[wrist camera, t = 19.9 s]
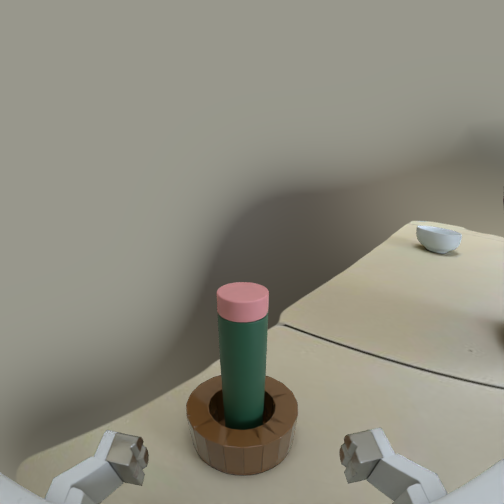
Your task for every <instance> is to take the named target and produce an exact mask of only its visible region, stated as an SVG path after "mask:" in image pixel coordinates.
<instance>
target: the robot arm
mask: <svg viewBox="0 0 504 504" xmlns="http://www.w3.org/2000/svg"><path fill="white" fill-rule="evenodd" d="M344 442H345V443H344V444H343V445H341V448H340V460H341V464H342V465H344V466H345V467H346V469H345V471H344V473H345V476H346V479H347V482H348V484H349V483H353V482H358V481H362V480H366V479H367V481H368V482H369V483H371V484H372V485H373V486H374V487H376V488H377V489H378V490H380V491H381V492H382V493H384V494H385V495H386V496H388V497H389V498H390V499H392V500H393V501H394V502H393V503H392V504H504V459H502V460H500V461H498V462H497V463H495V464H494V465H493V466H491V467H490V468H489V469H487V470H486V471H484V472H483V473H481V474H480V475H478V476H477V477H475V478H474V479H472V480H471V481H469V482H468V483H466V484H464V485H463V486H461V487H459V488H458V489H456V490H454V491H452V492H451V493H449V494H447V492H446V490H445V488H444V486H443V484H442V482H441V481H440V479H439V477H438V475H437V474H436V473H434V472H432V471H430V470H428V469H426V468H424V467H422V466H420V465H418V464H417V463H415V462H413V461H411V460H409V459H407V458H405V457H404V456H402V455H400V454H395V453H394V451H393V449H392V447H391V445H390V443H389V441H388V439H387V437H386V435H385V433H384V431H383V430H382V429H381V428H375V429H371V430H366V431H362V432H358V433H353V434H348V435H346V436H345V438H344ZM148 456H149V455H148V450H147V448H146V447H145V446H144V445H143V440H142V438H141V437H138V436H133V435H128V434H123V433H119V432H114V431H110V430H107V431H106V432H105V433H104V435H103V437H102V439H101V441H100V444H99V446H98V448H97V451H96V453H95V455H94V457H89V458H87V459H86V460H84V461H82V462H81V463H79V464H77V465H76V466H74V467H72V468H71V469H69V470H67V471H65V472H64V473H62V474H60V475H58V476H56V477H55V478H54V479H53V481H52V483H51V485H50V488H49V490H48V492H47V494H46V496H45V499H44V498H42V497H40V496H38V495H36V494H34V493H33V492H31V491H29V490H27V489H26V488H24V487H22V486H21V485H19V484H18V483H16V482H14V481H13V480H11V479H10V478H8V477H7V476H5V475H4V474H2V473H1V472H0V504H99V503H101V502H102V501H103V500H104V499H105V498H107V497H108V496H109V495H110V494H111V493H113V492H114V491H115V490H116V489H117V488H118V487H120V486H121V485H122V484H123V482H125V483H130V484H135V485H140V486H142V484H143V480H144V476H145V473H144V472H143V469H144V468H145V467H147V464H148Z"/></svg>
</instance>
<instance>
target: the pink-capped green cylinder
mask: <svg viewBox="0 0 504 504" xmlns="http://www.w3.org/2000/svg"><path fill="white" fill-rule="evenodd" d="M268 300H269V292H268V290H267V288H265V287H264V286H262V285H259V284H255V283H249V282H237V283H230V284H226V285H224V286H222V287H220V288H219V289H218V291H217V310H218V331H219V348H220V364H221V379H222V392H223V405H224V416H225V427H228V428H230V429H238V430H247V429H254V428H256V427H259V426H261V425H263V412H264V393H265V373H266V352H267V327H268Z"/></svg>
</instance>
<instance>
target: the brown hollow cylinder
mask: <svg viewBox="0 0 504 504" xmlns="http://www.w3.org/2000/svg"><path fill="white" fill-rule="evenodd" d="M186 411H187V419H188V424H189V428H190V432H191V436H192V440H193V444H194V446H195V449H196V451H197V453H198V454H199V456H200V457H201V458H202V459H203V461H205V462H206V463H207V464H208V465H210V466H211V467H213V468H215V469H217V470H219V471H222V472H225V473H229V474H234V475H252V474H257V473H261V472H264V471H267V470H269V469H271V468H273V467H275V466H276V465H278V464H279V463H280V462H281V461H282V460H283V459H284V458H285V457H286V456H287V454H288V452H289V451H290V448H291V445H292V442H293V437H294V432H295V427H296V422H297V417H298V404H297V401H296V399H295V397H294V395H293V393H292V391H290V390H289V389H288V388H287V387H286V386H285V385H284V384H283V383H281V382H279V381H277V380H275V379H273V378H272V377H269V376H265V393H264V412H263V425H261V426H259V427H256V428H254V429H247V430H238V429H230V428H228V427H225V416H224V405H223V392H222V379H221V375H220V376H216V377H213V378H211V379H209V380H207V381H205V382H203V383H202V384H200V385H199V386H198V387H197V388H196V389H195V390H194V391H193V392H192V393H191V395H190V397H189V399H188V401H187V405H186Z"/></svg>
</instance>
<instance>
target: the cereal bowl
mask: <svg viewBox="0 0 504 504" xmlns="http://www.w3.org/2000/svg"><path fill="white" fill-rule="evenodd" d="M416 234H417V239H418V241H419V242H420V243H421V244H422V245H424V246H425V247H426V249H427V250H429V251H432V252H436V253H447V252H448V251H452V250H455V249H456V248H457V247H458V246H459V245H460V242H461V238H462V234H460V233H458V232H456V231H452V230H448V229H443V228H438V227H431V226H417V232H416Z"/></svg>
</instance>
